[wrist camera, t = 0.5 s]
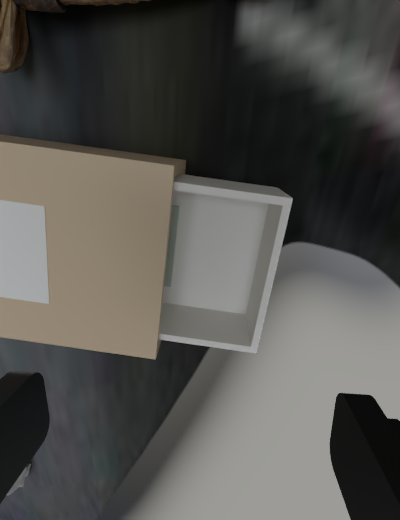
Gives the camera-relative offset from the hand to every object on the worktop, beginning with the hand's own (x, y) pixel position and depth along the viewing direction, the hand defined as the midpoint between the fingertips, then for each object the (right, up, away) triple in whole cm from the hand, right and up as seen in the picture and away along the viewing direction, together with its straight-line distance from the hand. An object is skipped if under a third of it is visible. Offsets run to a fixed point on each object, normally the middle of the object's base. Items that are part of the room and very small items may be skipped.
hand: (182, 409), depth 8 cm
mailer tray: (-3, +6, +22) cm, 23 cm away
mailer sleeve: (-12, +7, +23) cm, 27 cm away
